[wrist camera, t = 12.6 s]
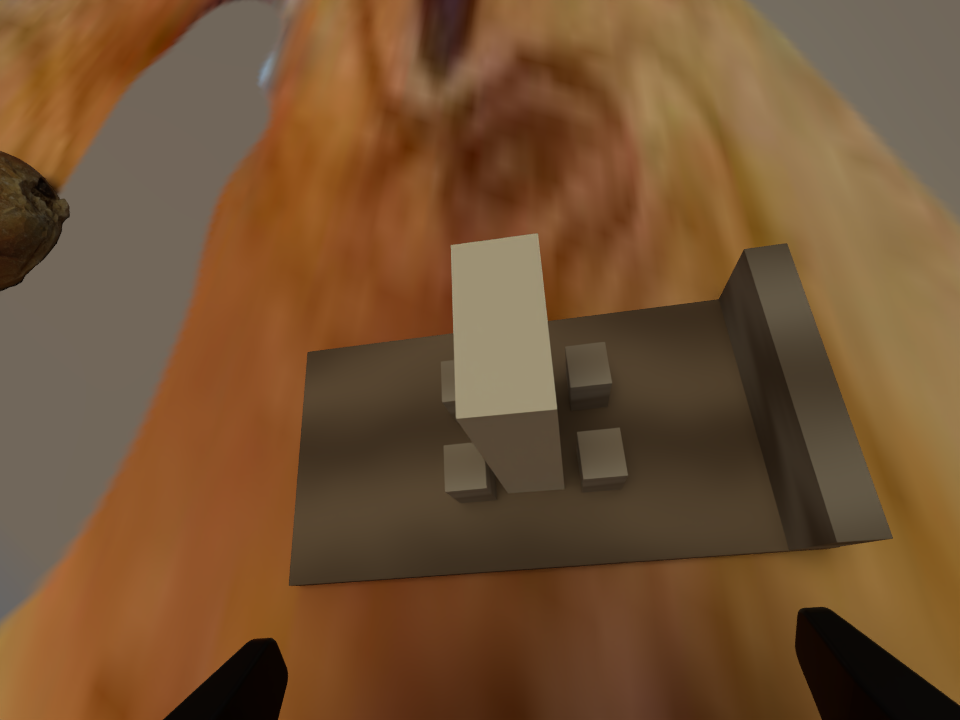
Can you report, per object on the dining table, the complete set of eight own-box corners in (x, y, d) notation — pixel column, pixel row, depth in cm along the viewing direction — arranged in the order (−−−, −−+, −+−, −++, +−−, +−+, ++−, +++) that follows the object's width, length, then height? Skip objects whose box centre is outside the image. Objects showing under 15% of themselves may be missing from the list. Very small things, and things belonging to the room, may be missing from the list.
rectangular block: (564, 489, 22) (557, 409, 12) (489, 494, 23) (423, 422, 13) (552, 379, 24) (537, 233, 14) (483, 386, 25) (422, 248, 15)
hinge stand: (828, 548, 21) (900, 538, 16) (299, 585, 23) (233, 585, 19) (752, 304, 25) (792, 242, 21) (316, 359, 28) (266, 315, 23)
